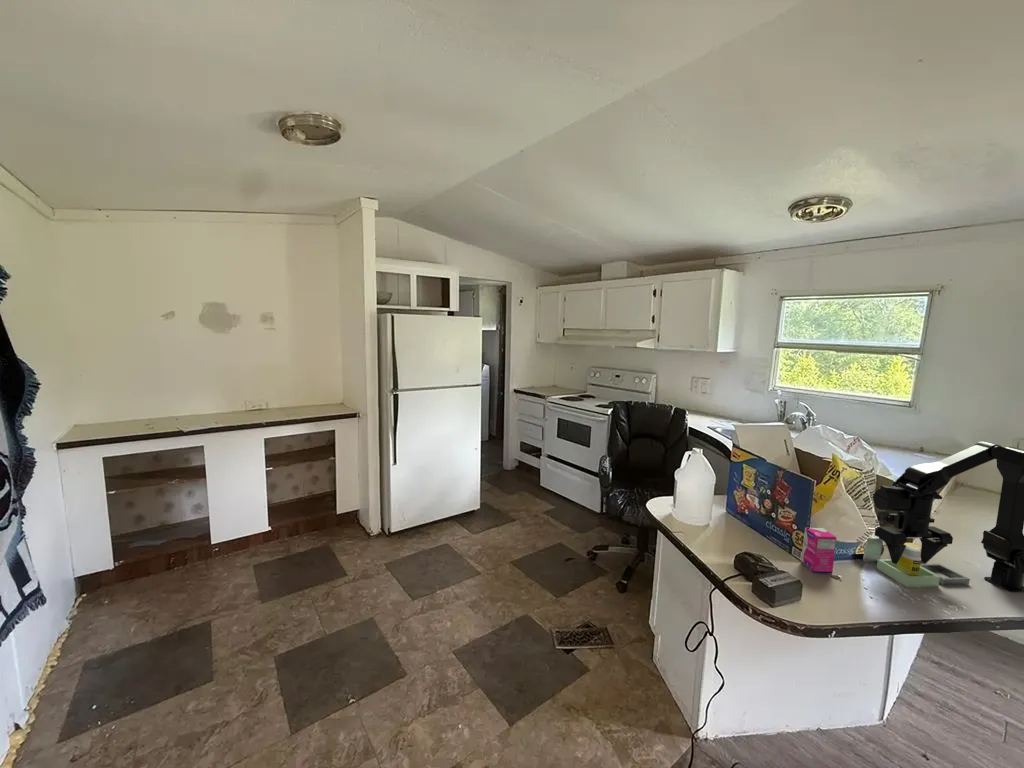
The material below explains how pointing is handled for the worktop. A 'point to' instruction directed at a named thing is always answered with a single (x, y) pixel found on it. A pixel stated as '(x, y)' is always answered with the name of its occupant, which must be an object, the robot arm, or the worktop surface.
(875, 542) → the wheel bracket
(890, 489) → the robot arm
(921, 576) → the tray
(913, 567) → the supplement bottle
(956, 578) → the pin socket
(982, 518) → the worktop surface
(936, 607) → the worktop surface
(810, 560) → the supplement box
